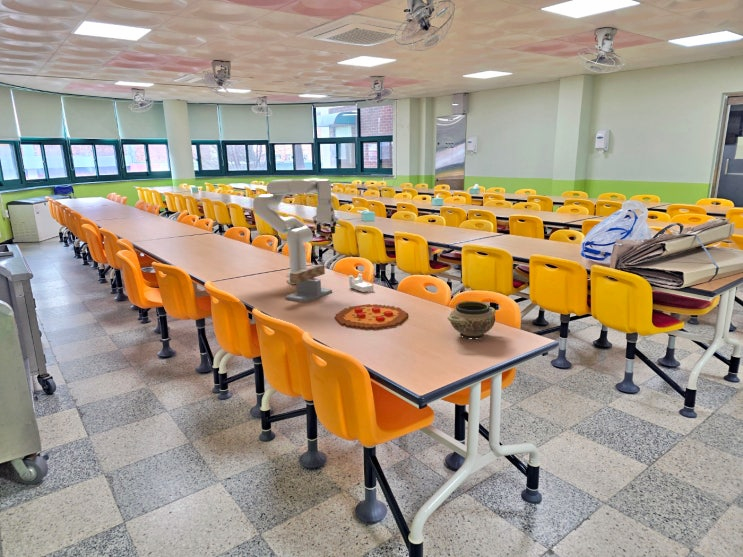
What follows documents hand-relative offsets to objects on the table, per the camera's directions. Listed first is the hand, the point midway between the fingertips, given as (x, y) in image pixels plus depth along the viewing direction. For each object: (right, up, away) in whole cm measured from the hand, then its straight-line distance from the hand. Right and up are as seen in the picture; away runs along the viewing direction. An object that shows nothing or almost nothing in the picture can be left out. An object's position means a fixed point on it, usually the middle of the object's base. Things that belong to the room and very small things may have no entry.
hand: (325, 232), depth 270 cm
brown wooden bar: (-8, -25, -15) cm, 31 cm away
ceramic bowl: (+66, -49, -74) cm, 111 cm away
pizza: (+25, -44, -49) cm, 70 cm away
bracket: (+20, -32, -3) cm, 38 cm away
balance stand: (-8, -35, -13) cm, 38 cm away
